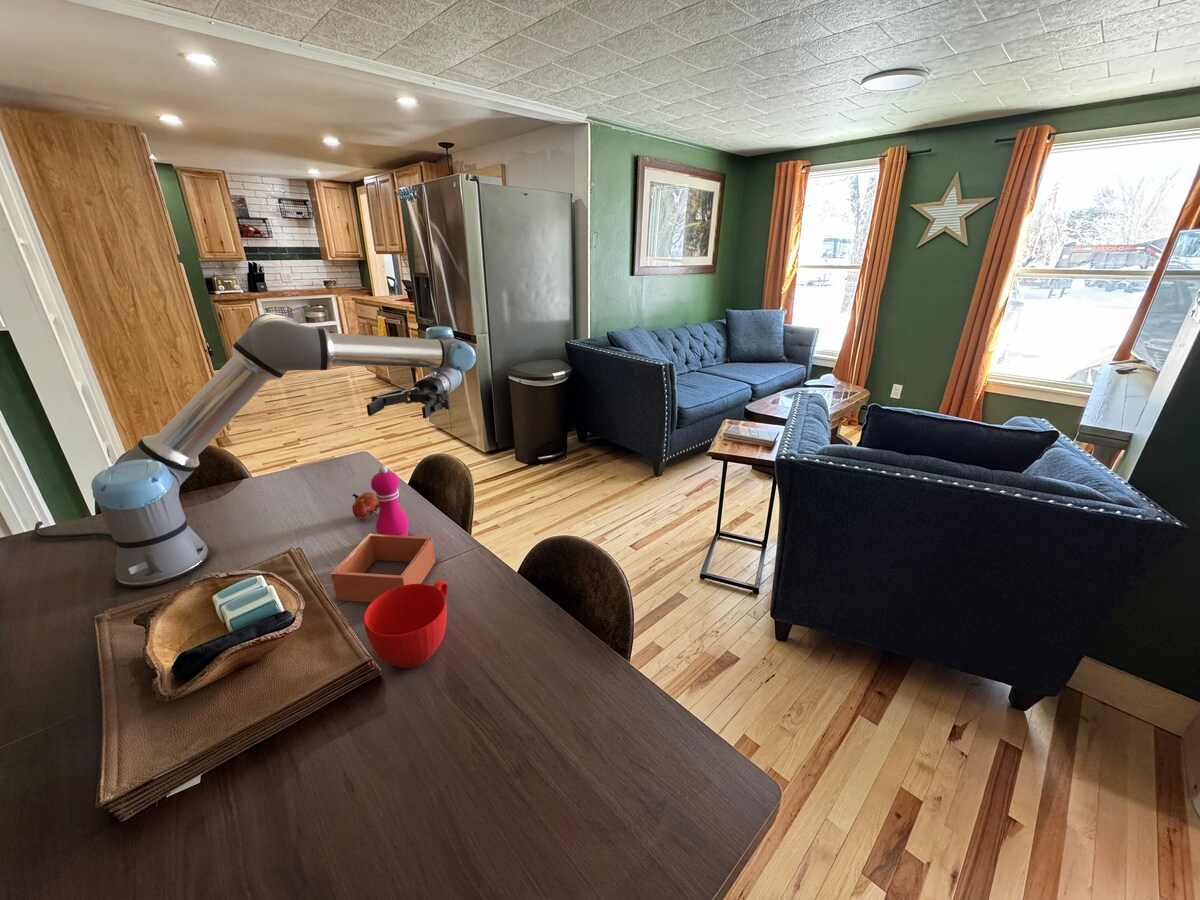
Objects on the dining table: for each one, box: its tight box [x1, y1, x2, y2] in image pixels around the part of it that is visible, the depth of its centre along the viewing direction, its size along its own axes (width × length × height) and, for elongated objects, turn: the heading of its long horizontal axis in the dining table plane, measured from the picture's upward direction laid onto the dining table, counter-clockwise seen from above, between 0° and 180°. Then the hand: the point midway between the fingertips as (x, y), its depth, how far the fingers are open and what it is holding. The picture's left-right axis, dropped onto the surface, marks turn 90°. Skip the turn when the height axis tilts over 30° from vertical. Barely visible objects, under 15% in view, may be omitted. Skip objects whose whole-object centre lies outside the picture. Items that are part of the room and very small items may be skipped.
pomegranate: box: [351, 491, 380, 521], centre depth 124 cm, size 7×7×10 cm
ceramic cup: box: [363, 580, 449, 669], centre depth 83 cm, size 13×17×10 cm
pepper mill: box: [370, 465, 410, 536], centre depth 112 cm, size 7×7×20 cm
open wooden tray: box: [330, 533, 436, 603], centre depth 101 cm, size 15×15×6 cm
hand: (396, 411), depth 113 cm, fingers open, 13 cm apart
